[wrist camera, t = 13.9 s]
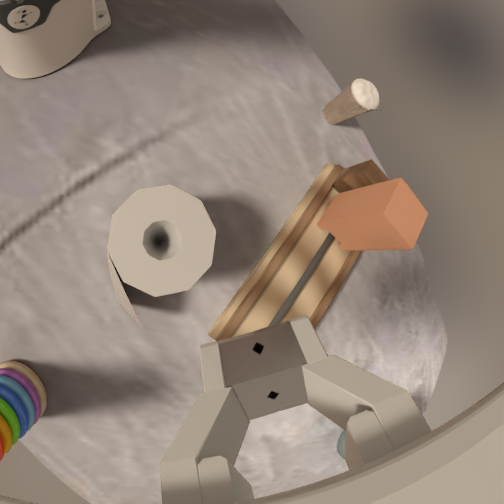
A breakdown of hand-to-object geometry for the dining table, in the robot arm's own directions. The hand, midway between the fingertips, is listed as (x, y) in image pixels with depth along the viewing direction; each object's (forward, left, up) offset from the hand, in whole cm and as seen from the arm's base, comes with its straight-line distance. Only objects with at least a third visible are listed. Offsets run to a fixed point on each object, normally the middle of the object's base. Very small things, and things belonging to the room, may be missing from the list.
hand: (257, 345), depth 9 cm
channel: (+3, +17, -27) cm, 32 cm away
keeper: (-2, +23, -26) cm, 34 cm away
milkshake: (-17, +27, -27) cm, 42 cm away
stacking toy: (+9, -22, -27) cm, 36 cm away
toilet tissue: (-3, -1, -27) cm, 27 cm away
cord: (+4, +16, -26) cm, 31 cm away
